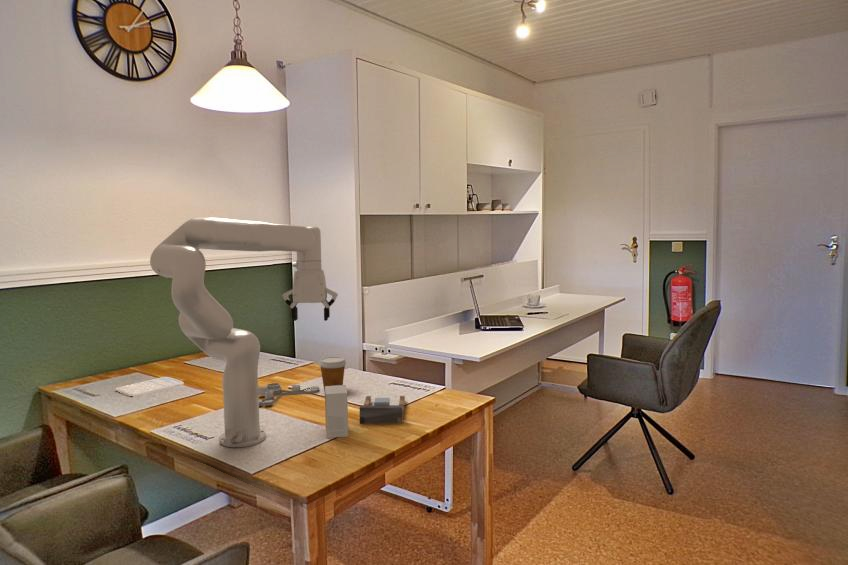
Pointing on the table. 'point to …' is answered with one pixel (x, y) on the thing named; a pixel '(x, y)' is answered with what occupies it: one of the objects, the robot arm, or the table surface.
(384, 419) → the guide channel
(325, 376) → the disposable coffee cup
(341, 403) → the small box
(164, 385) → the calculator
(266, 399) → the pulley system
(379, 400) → the block
